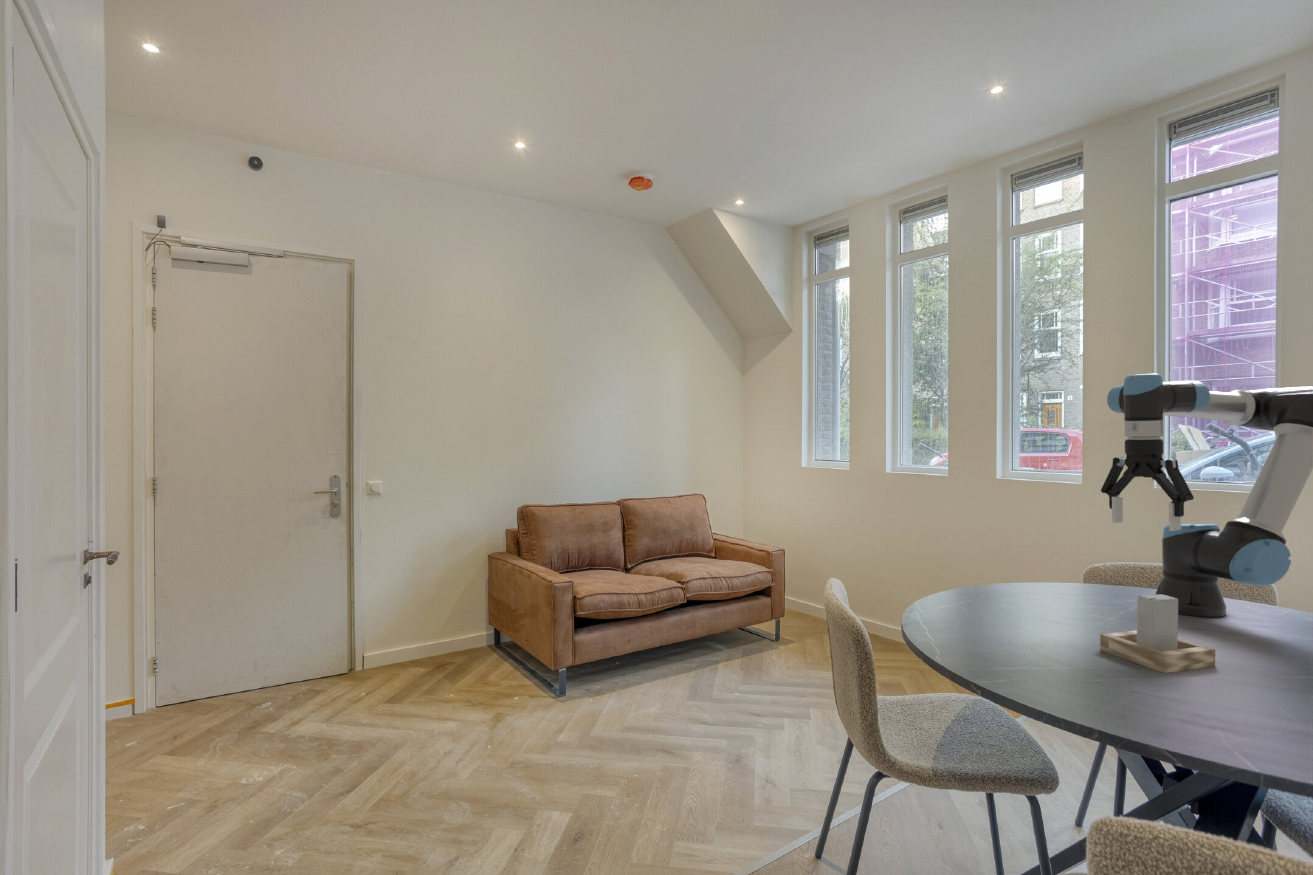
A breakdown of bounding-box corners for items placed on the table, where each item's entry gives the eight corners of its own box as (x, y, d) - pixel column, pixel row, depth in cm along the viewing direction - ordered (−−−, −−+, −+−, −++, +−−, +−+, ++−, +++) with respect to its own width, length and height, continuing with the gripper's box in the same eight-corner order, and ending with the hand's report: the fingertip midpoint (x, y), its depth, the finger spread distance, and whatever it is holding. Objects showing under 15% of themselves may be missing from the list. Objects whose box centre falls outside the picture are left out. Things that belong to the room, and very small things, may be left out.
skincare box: (1160, 648, 144) (1161, 593, 144) (1179, 655, 140) (1180, 598, 140) (1134, 649, 144) (1135, 594, 143) (1152, 656, 139) (1153, 599, 139)
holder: (1148, 644, 150) (1148, 628, 150) (1215, 665, 137) (1215, 649, 137) (1100, 650, 147) (1100, 634, 147) (1164, 673, 133) (1164, 655, 133)
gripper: (1083, 438, 170) (1085, 520, 171) (1188, 440, 147) (1190, 535, 147) (1105, 436, 173) (1106, 518, 173) (1211, 438, 149) (1213, 532, 150)
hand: (1145, 526), depth 160 cm, fingers open, 13 cm apart
